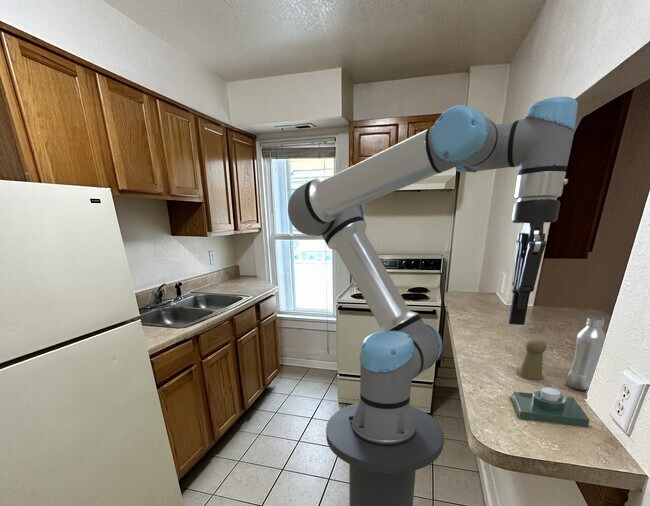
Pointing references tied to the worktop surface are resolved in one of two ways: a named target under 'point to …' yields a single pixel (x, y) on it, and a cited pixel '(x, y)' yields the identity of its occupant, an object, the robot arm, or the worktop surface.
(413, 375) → the robot arm
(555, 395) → the white push button
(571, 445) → the worktop surface
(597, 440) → the worktop surface
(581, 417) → the green button base
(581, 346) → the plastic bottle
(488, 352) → the worktop surface
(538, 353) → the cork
